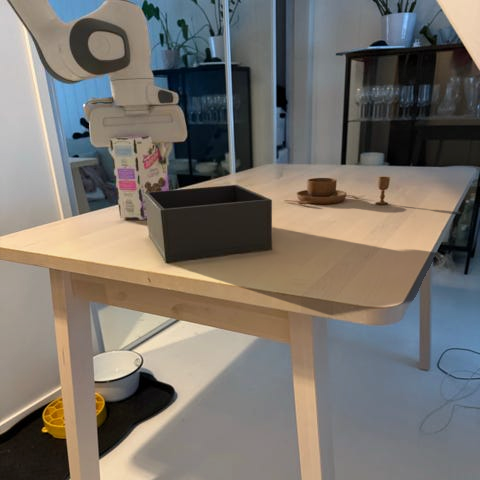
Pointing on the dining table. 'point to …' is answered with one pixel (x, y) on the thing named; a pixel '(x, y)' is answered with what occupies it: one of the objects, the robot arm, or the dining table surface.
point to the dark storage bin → (208, 222)
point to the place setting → (332, 191)
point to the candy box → (137, 173)
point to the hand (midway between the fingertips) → (143, 166)
